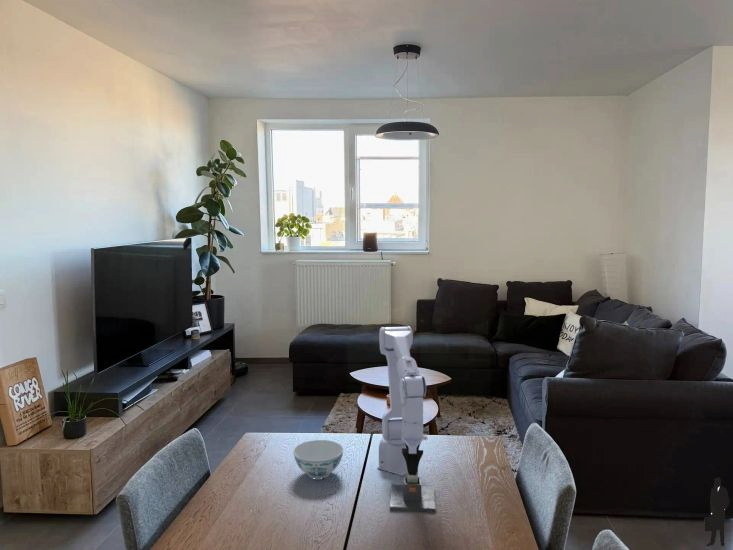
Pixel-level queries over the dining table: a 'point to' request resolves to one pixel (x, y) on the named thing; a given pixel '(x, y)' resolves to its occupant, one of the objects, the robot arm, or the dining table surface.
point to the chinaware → (318, 457)
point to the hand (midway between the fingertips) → (412, 468)
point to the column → (412, 478)
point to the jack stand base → (412, 497)
